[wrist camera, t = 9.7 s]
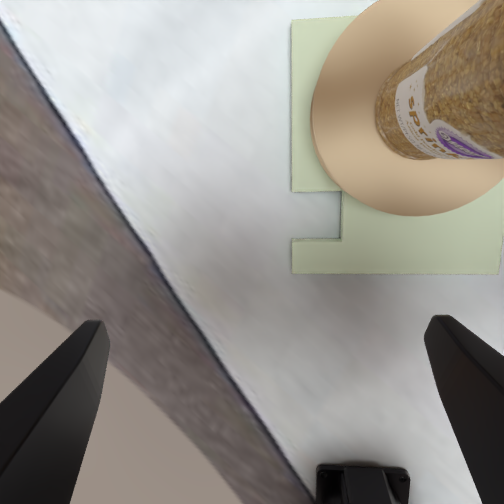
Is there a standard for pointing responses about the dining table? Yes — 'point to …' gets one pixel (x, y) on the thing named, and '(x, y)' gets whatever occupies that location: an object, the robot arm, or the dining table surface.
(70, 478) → the robot arm
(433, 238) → the notched board
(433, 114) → the sprinkles bottle
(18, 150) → the dining table surface
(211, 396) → the dining table surface
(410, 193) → the bobbin
